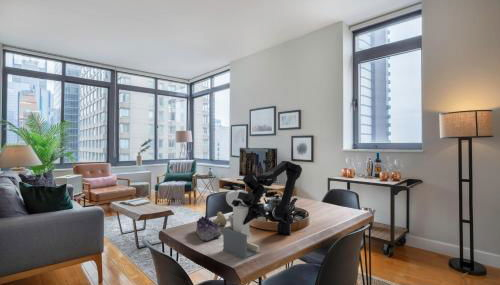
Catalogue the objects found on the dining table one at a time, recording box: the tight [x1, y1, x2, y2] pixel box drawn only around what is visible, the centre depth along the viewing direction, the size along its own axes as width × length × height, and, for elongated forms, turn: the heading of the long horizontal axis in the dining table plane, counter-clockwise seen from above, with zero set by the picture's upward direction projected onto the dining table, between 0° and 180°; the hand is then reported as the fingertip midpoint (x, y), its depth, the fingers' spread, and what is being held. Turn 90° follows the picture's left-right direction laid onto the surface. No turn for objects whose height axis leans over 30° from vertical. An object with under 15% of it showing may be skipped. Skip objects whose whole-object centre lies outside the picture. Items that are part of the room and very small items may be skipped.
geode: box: [195, 215, 221, 242], centre depth 143 cm, size 20×12×10 cm, turn 30°
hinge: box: [228, 213, 251, 234], centre depth 152 cm, size 17×5×10 cm, turn 25°
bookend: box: [222, 227, 260, 260], centre depth 121 cm, size 10×14×10 cm
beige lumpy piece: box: [212, 211, 227, 227], centre depth 157 cm, size 11×9×9 cm
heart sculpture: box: [225, 189, 249, 220], centre depth 176 cm, size 16×5×18 cm, turn 125°
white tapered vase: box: [232, 206, 250, 239], centre depth 123 cm, size 6×6×14 cm
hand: (239, 223), depth 121 cm, fingers closed on white tapered vase, 5 cm apart
